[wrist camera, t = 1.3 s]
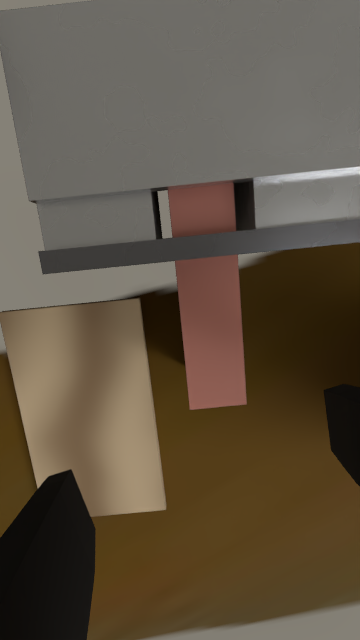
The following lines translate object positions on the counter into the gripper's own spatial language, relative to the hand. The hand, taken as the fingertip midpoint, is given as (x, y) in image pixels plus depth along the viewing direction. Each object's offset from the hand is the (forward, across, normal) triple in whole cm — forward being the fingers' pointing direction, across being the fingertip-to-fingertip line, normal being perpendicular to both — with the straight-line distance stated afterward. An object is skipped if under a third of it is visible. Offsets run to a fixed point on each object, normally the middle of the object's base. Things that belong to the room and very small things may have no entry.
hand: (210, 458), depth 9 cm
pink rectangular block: (+10, -3, -4) cm, 11 cm away
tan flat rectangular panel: (+11, +6, +3) cm, 13 cm away
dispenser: (+10, -4, -8) cm, 14 cm away
